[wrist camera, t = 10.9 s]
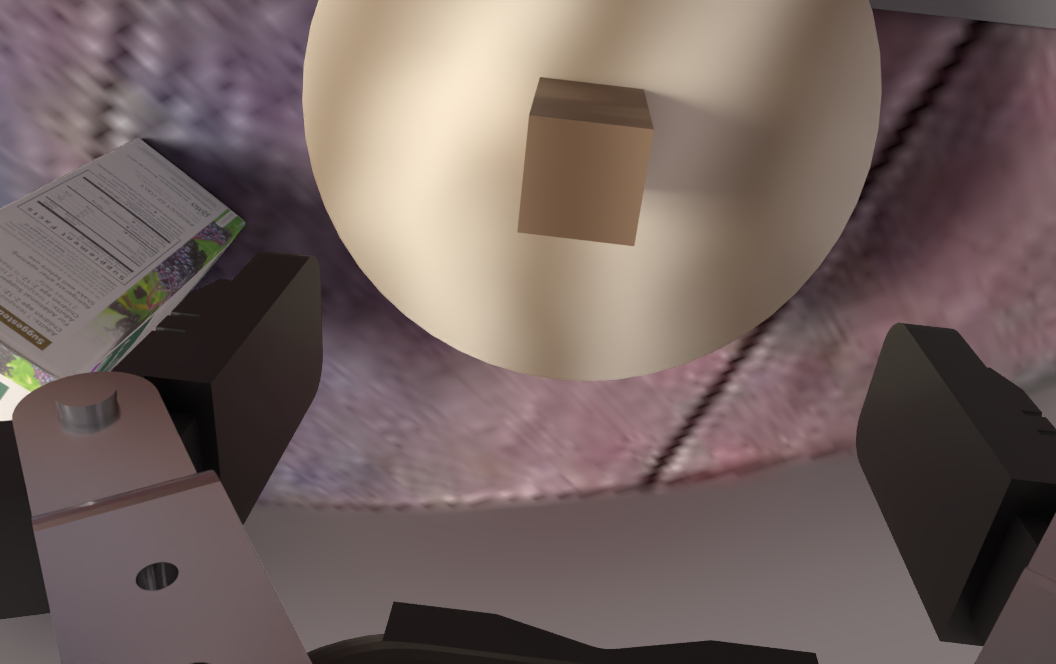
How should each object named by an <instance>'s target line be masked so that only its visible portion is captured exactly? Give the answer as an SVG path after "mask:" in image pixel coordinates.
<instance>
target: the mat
mask: <svg viewBox="0 0 1056 664" xmlns="http://www.w3.org/2000/svg"><path fill="white" fill-rule="evenodd" d="M869 3H870V6H871V8H874V9H883V10H892V11H901V12H910V13H919V14H928V15H937V16H946V17H954V18H963V19H972V20H981V21H990V22H999V23H1008V24H1017V25H1026V26H1035V27H1044V28H1053V29H1056V0H869Z"/></svg>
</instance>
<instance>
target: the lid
mask: <svg viewBox="0 0 1056 664" xmlns="http://www.w3.org/2000/svg"><path fill="white" fill-rule="evenodd" d="M881 96H882V84H881V61H880V49H879V44H878V38H877V33H876V27H875V22H874V16H873V12H872V9H871V6H870V3H869V0H319V1H318V4H317V7H316V10H315V13H314V17H313V20H312V23H311V27H310V32H309V38H308V44H307V50H306V55H305V61H304V77H303V100H302V102H303V114H304V125H305V137H306V142H307V147H308V152H309V156H310V161H311V166H312V170H313V174H314V177H315V180H316V183H317V186H318V189H319V192H320V194H321V197H322V200H323V203H324V206H325V208H326V210H327V212H328V214H329V216H330V218H331V220H332V222H333V224H334V226H335V228H336V230H337V232H338V234H339V236H340V239H341V240H342V242H343V243H344V245H345V246H346V248H347V249H348V251H349V252H350V254H351V255H352V257H353V258H354V260H355V261H356V263H357V264H358V266H359V267H360V269H361V270H362V271H363V272H364V273H365V274H366V276H367V277H368V278H369V279H370V280H371V282H372V283H373V284H374V285H375V286H376V287H377V289H378V290H379V291H380V292H381V293H382V294H383V295H384V296H385V297H386V298H387V299H388V300H389V301H390V302H391V303H392V304H393V305H395V306H396V307H397V308H398V309H399V310H400V311H401V312H402V313H403V314H404V315H405V316H407V317H408V318H409V319H411V320H412V321H413V322H415V323H416V324H417V325H419V326H420V327H422V328H423V329H424V330H426V331H427V332H428V333H430V334H431V335H433V336H434V337H436V338H438V339H440V340H441V341H443V342H445V343H447V344H448V345H450V346H452V347H454V348H455V349H457V350H459V351H461V352H463V353H466V354H468V355H470V356H473V357H475V358H477V359H480V360H482V361H484V362H487V363H489V364H492V365H495V366H499V367H502V368H505V369H509V370H512V371H515V372H519V373H523V374H528V375H534V376H540V377H545V378H551V379H563V380H579V381H593V380H614V379H623V378H629V377H635V376H641V375H647V374H652V373H655V372H659V371H662V370H666V369H670V368H673V367H677V366H680V365H683V364H686V363H688V362H690V361H693V360H695V359H698V358H700V357H703V356H705V355H708V354H710V353H713V352H714V351H716V350H718V349H720V348H722V347H723V346H725V345H727V344H729V343H731V342H733V341H734V340H736V339H738V338H740V337H742V336H743V335H745V334H746V333H747V332H749V331H750V330H752V329H753V328H755V327H756V326H757V325H759V324H760V323H762V322H763V321H764V320H766V319H767V318H769V317H770V316H771V315H772V314H773V313H775V312H776V311H777V310H778V309H779V308H780V307H781V306H782V305H783V304H785V303H786V302H787V301H788V300H789V299H790V298H791V297H792V296H793V295H795V294H796V293H797V292H798V290H799V289H800V288H801V287H802V286H803V285H804V284H805V282H806V281H807V280H808V279H809V278H810V277H811V276H812V274H813V273H814V272H815V271H816V270H817V269H818V268H819V266H820V265H821V264H822V262H823V261H824V259H825V258H826V256H827V255H828V253H829V252H830V250H831V249H832V247H833V246H834V244H835V243H836V242H837V240H838V239H839V237H840V235H841V234H842V232H843V230H844V228H845V226H846V224H847V222H848V220H849V218H850V216H851V214H852V212H853V210H854V208H855V206H856V204H857V202H858V199H859V197H860V194H861V191H862V188H863V186H864V183H865V180H866V177H867V175H868V172H869V169H870V165H871V161H872V157H873V152H874V148H875V143H876V139H877V134H878V129H879V118H880V107H881Z"/></svg>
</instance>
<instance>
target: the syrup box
mask: <svg viewBox="0 0 1056 664" xmlns="http://www.w3.org/2000/svg"><path fill="white" fill-rule="evenodd" d="M244 226H245V221H244V220H243V219H242V218H241V217H239V216H238V215H237V214H236V213H234V212H233V211H232V210H231V209H229V208H228V207H227V206H226V205H224V204H223V203H222V202H221V201H219V200H218V199H217V198H215V197H214V196H213V195H212V194H210V193H209V192H208V191H207V190H205V189H204V188H203V187H202V186H200V185H199V184H198V183H197V182H195V181H194V180H193V179H191V178H190V177H189V176H187V175H186V174H185V173H184V172H183V171H181V170H180V169H179V168H177V167H176V166H175V165H173V164H172V163H171V162H169V161H168V160H167V159H166V158H164V157H163V156H162V155H160V154H159V153H158V152H157V151H155V150H154V149H153V148H151V147H150V146H149V145H148V144H146V143H145V142H144V141H142V140H141V139H139V138H136V139H134V140H132V141H131V142H128V143H126V144H125V145H123V146H120V147H119V148H117V149H115V150H113V151H111V152H109V153H107V154H105V155H103V156H101V157H98V158H97V159H95V160H93V161H91V162H89V163H87V164H85V165H83V166H81V167H79V168H77V169H75V170H73V171H72V172H70V173H68V174H66V175H64V176H62V177H60V178H58V179H56V180H54V181H52V182H50V183H48V184H46V185H44V186H43V187H41V188H39V189H37V190H35V191H33V192H31V193H29V194H27V195H25V196H23V197H21V198H19V199H17V200H15V201H13V202H11V203H9V204H7V205H5V206H3V207H1V208H0V421H8V420H12V414H13V412H14V409H15V407H16V406H17V404H18V403H19V402H20V401H21V400H22V399H23V398H24V397H25V396H26V395H28V394H29V393H31V392H32V391H33V390H35V389H37V388H39V387H41V386H43V385H45V384H47V383H50V382H52V381H55V380H58V379H61V378H64V377H68V376H72V375H76V374H82V373H89V372H101V371H108V372H109V371H110V370H111V369H112V368H113V367H114V366H115V365H116V364H117V363H118V362H119V361H121V360H122V359H123V358H124V357H125V356H126V355H127V354H128V353H129V352H130V351H131V350H132V349H133V348H134V347H135V346H136V345H137V344H138V343H139V342H140V341H141V340H142V339H144V338H145V337H146V336H147V335H148V334H149V333H150V332H151V331H152V330H153V329H154V328H155V327H156V326H157V325H158V324H159V323H160V322H161V321H162V320H163V319H164V318H165V317H166V316H167V315H168V314H169V313H170V312H171V311H172V310H173V309H174V308H175V307H176V306H177V305H178V304H179V303H180V302H181V301H182V300H183V299H184V298H185V297H186V296H187V295H188V293H189V292H190V291H191V290H192V289H193V288H194V287H195V286H196V285H197V283H198V282H199V281H200V280H201V279H202V278H203V277H204V276H205V274H206V273H207V272H208V271H209V269H210V268H211V267H212V266H213V264H214V263H215V262H216V261H217V260H218V258H219V257H220V256H221V255H222V253H223V252H224V251H225V250H226V248H227V247H228V246H229V245H230V243H231V242H232V241H233V240H234V238H235V237H236V236H237V234H238V233H239V232H240V231H241V230H242V228H243V227H244Z"/></svg>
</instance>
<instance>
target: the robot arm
mask: <svg viewBox="0 0 1056 664" xmlns="http://www.w3.org/2000/svg"><path fill="white" fill-rule="evenodd" d="M322 362H323V344H322V307H321V274H320V266H319V262H318V260H317V258H316V257H315V256H310V255H301V254H292V253H283V252H274V251H265V250H262V251H260V252H259V253H258V254H257V255H256V256H255V257H254V258H253V259H252V260H251V261H250V262H249V263H248V264H247V265H246V266H245V268H244V269H243V270H242V271H241V272H240V273H239V274H238V275H237V276H236V277H235V278H234V279H233V280H232V281H231V280H222V279H220V280H218V281H216V282H213V283H211V284H209V285H207V286H205V287H203V288H200V289H198V290H196V291H194V292H192V293H190V294H189V295H188V296H187V297H186V298H185V299H184V300H183V301H182V302H181V303H180V304H179V305H178V306H176V307H175V308H174V309H173V310H172V311H171V316H169V315H167V316H166V317H165V318H164V319H163V320H162V321H161V322H160V323H159V324H158V325H157V326H156V331H151V332H150V333H149V334H148V335H147V336H146V337H145V338H144V339H143V340H142V341H141V342H140V343H139V344H138V345H137V346H136V347H135V348H134V349H133V350H132V351H131V352H130V353H129V354H128V355H127V356H126V357H125V358H124V359H123V360H122V361H121V362H120V363H119V364H118V365H117V366H116V367H115V368H114V369H113V370H112V371H111V372H108V371H101V372H89V373H82V374H76V375H72V376H68V377H64V378H61V379H58V380H55V381H52V382H50V383H47V384H45V385H43V386H41V387H39V388H37V389H35V390H33V391H32V392H31V393H29V394H28V395H26V396H25V397H24V398H23V399H22V400H21V401H20V402H19V403H18V404H17V406H16V407H15V409H14V412H13V414H12V420H8V421H0V619H6V618H14V617H22V616H29V615H37V614H45V613H51V617H52V622H53V627H54V632H55V636H56V642H57V646H58V651H59V655H60V661H61V664H818V660H817V657H816V653H810V652H802V651H794V650H786V649H778V648H770V647H761V646H753V645H744V644H737V643H728V642H720V641H712V640H710V641H699V642H687V643H676V644H666V645H654V646H643V647H632V648H621V649H602V648H596V647H593V646H589V645H587V644H583V643H581V642H578V641H575V640H572V639H569V638H566V637H563V636H560V635H557V634H554V633H551V632H548V631H545V630H542V629H539V628H536V627H533V626H530V625H527V624H524V623H521V622H518V621H515V620H512V619H509V618H506V617H503V616H500V615H497V614H491V613H483V612H474V611H467V610H458V609H449V608H441V607H434V606H426V605H417V604H409V603H401V602H393V606H392V609H391V613H390V616H389V620H388V623H387V626H386V630H385V633H384V634H378V635H369V636H363V637H358V638H353V639H348V640H343V641H340V642H337V643H334V644H330V645H327V646H323V647H320V648H318V649H315V650H313V651H310V652H308V653H307V652H306V650H305V648H304V646H303V644H302V642H301V640H300V639H299V636H298V635H297V632H296V631H295V628H294V627H293V624H292V622H291V621H290V619H289V617H288V615H287V613H286V611H285V609H284V607H283V605H282V603H281V601H280V599H279V597H278V595H277V593H276V591H275V589H274V587H273V585H272V583H271V581H270V579H269V577H268V575H267V573H266V571H265V569H264V567H263V565H262V563H261V561H260V559H259V557H258V555H257V553H256V551H255V549H254V547H253V545H252V543H251V541H250V539H249V537H248V535H247V533H246V531H245V529H244V527H243V524H244V523H245V521H246V519H247V517H248V516H249V514H250V512H251V510H252V508H253V507H254V505H255V503H256V501H257V499H258V498H259V496H260V494H261V492H262V491H263V489H264V487H265V485H266V483H267V482H268V480H269V478H270V476H271V474H272V473H273V471H274V469H275V467H276V465H277V464H278V462H279V460H280V458H281V457H282V455H283V453H284V451H285V449H286V448H287V446H288V444H289V442H290V440H291V439H292V437H293V435H294V433H295V431H296V430H297V428H298V426H299V424H300V423H301V421H302V419H303V417H304V415H305V414H306V412H307V410H308V408H309V406H310V405H311V403H312V401H313V399H314V397H315V395H316V392H317V390H318V386H319V382H320V377H321V371H322ZM856 449H857V456H858V460H859V463H860V465H861V467H862V470H863V472H864V474H865V476H866V478H867V481H868V483H869V485H870V487H871V489H872V492H873V494H874V496H875V498H876V500H877V503H878V505H879V507H880V509H881V512H882V514H883V516H884V518H885V521H886V523H887V525H888V527H889V529H890V531H891V534H892V536H893V538H894V540H895V543H896V545H897V547H898V549H899V552H900V554H901V556H902V558H903V560H904V562H905V565H906V567H907V569H908V571H909V574H910V576H911V578H912V580H913V582H914V585H915V587H916V589H917V591H918V594H919V595H920V598H921V600H922V602H923V605H924V607H925V609H926V611H927V613H928V616H929V618H930V620H931V622H932V624H933V627H934V629H935V631H936V633H937V635H938V638H939V640H940V641H944V642H953V643H961V644H969V645H977V646H983V648H982V650H981V652H980V654H979V656H978V658H977V660H976V662H975V664H1056V429H1055V428H1054V426H1053V425H1052V424H1051V423H1050V422H1049V420H1048V419H1047V418H1046V417H1042V412H1041V411H1040V410H1039V409H1038V407H1037V406H1036V405H1035V404H1034V403H1033V401H1032V400H1031V399H1030V398H1029V397H1028V395H1027V394H1026V393H1025V392H1024V391H1023V390H1022V389H1021V388H1019V387H1018V386H1016V385H1015V384H1014V383H1012V382H1011V381H1009V380H1008V379H1006V378H1005V377H1003V376H1002V375H1000V374H999V373H997V372H996V371H994V370H993V369H991V368H987V367H986V366H985V365H984V364H983V362H982V361H981V360H980V359H979V357H978V356H977V355H976V354H975V352H974V351H973V350H972V349H971V347H970V346H969V345H968V344H967V342H966V341H965V340H964V339H963V338H962V336H961V335H960V334H959V333H958V332H957V331H956V330H954V329H949V328H940V327H931V326H922V325H913V324H904V323H897V324H895V325H893V326H892V328H891V329H890V330H889V332H888V333H887V336H886V338H885V340H884V343H883V346H882V349H881V352H880V355H879V359H878V362H877V365H876V368H875V371H874V374H873V377H872V380H871V383H870V386H869V389H868V392H867V396H866V399H865V402H864V405H863V408H862V411H861V414H860V417H859V421H858V426H857V434H856Z"/></svg>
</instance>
